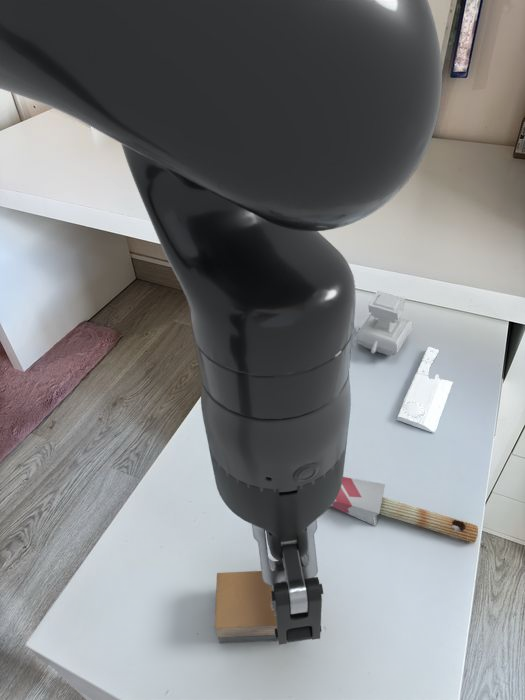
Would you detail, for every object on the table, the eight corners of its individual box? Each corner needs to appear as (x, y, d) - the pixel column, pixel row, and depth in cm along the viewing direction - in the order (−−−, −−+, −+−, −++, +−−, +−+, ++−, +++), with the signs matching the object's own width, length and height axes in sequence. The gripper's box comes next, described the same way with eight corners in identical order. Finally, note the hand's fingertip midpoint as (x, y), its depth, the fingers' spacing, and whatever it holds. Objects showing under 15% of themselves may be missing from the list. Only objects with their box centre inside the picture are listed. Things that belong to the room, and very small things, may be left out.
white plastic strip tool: (461, 360, 74) (463, 355, 73) (433, 434, 65) (435, 429, 64) (426, 350, 76) (428, 344, 75) (395, 419, 67) (396, 414, 66)
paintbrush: (302, 458, 59) (480, 513, 54) (301, 471, 61) (473, 525, 56) (292, 485, 57) (478, 545, 52) (291, 498, 59) (471, 557, 53)
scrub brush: (219, 643, 48) (214, 628, 45) (221, 589, 52) (216, 572, 49) (302, 639, 48) (303, 624, 45) (298, 585, 52) (299, 568, 49)
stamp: (392, 370, 74) (400, 326, 68) (350, 355, 76) (354, 311, 71) (412, 334, 79) (421, 290, 73) (372, 321, 82) (378, 278, 76)
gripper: (201, 343, 32) (225, 484, 43) (213, 565, 21) (241, 676, 32) (318, 329, 32) (312, 473, 43) (386, 540, 22) (356, 658, 33)
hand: (282, 560), depth 38 cm, fingers open, 8 cm apart
